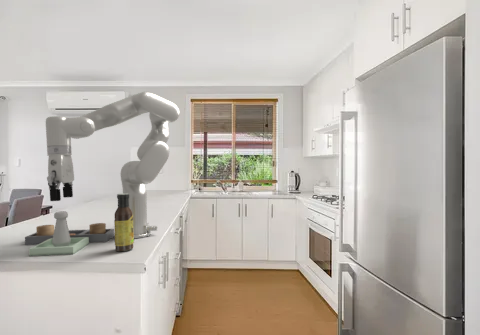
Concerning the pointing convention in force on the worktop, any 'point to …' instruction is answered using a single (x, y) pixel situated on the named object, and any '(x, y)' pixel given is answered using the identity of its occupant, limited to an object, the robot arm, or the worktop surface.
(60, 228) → the salt shaker
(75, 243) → the sage tray
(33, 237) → the socket holder
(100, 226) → the oak peg
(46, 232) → the oak peg
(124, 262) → the worktop surface
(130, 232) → the sauce bottle
